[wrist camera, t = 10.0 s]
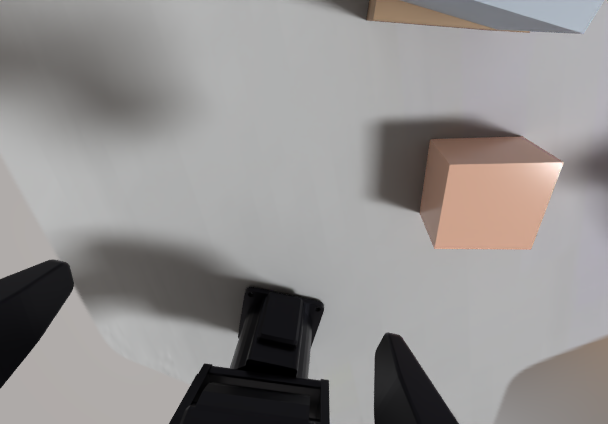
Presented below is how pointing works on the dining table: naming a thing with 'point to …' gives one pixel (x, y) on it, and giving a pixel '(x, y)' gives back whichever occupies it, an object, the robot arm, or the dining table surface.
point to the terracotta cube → (486, 192)
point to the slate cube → (520, 13)
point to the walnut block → (417, 15)
